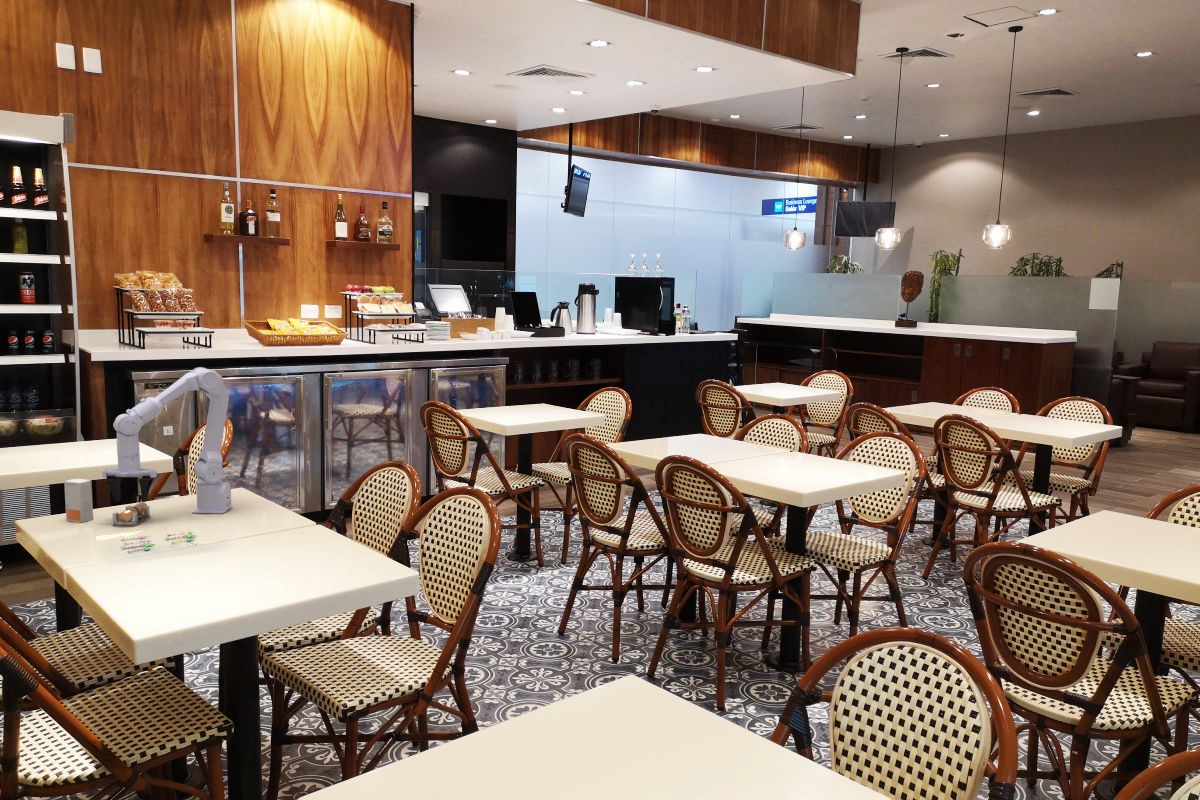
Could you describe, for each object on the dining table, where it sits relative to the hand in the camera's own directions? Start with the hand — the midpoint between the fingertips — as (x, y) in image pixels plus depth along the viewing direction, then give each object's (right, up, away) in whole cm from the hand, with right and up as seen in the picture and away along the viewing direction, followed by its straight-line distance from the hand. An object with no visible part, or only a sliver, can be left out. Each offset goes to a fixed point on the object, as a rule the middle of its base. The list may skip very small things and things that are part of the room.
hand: (131, 501), depth 263 cm
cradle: (0, -6, +1) cm, 6 cm away
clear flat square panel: (+18, -10, -19) cm, 28 cm away
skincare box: (-16, -6, +1) cm, 17 cm away
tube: (0, -5, +1) cm, 5 cm away
